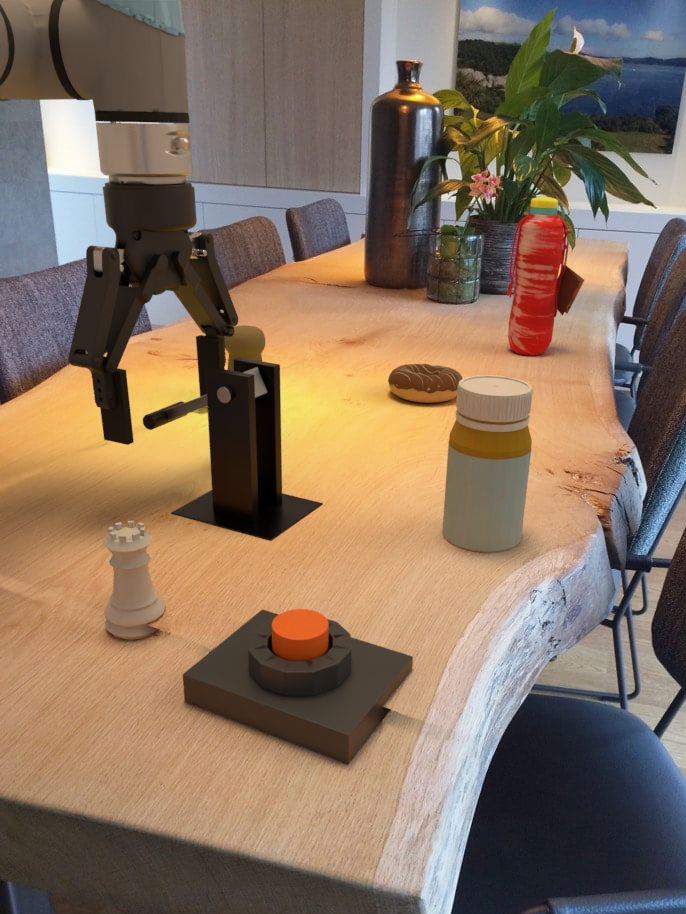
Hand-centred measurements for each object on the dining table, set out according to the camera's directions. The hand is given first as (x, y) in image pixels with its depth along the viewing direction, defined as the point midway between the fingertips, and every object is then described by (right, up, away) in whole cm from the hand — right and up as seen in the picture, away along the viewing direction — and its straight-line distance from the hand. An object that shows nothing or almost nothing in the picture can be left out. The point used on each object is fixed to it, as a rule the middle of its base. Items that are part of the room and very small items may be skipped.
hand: (169, 420), depth 78 cm
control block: (+15, -20, -24) cm, 35 cm away
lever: (+5, 0, -3) cm, 5 cm away
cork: (+3, +4, +30) cm, 30 cm away
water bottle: (+47, +18, +64) cm, 81 cm away
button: (+15, -17, -25) cm, 34 cm away
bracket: (+8, -9, 0) cm, 12 cm away
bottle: (+29, -12, -4) cm, 32 cm away
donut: (+27, +7, +38) cm, 47 cm away
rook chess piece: (+2, -17, -17) cm, 24 cm away
